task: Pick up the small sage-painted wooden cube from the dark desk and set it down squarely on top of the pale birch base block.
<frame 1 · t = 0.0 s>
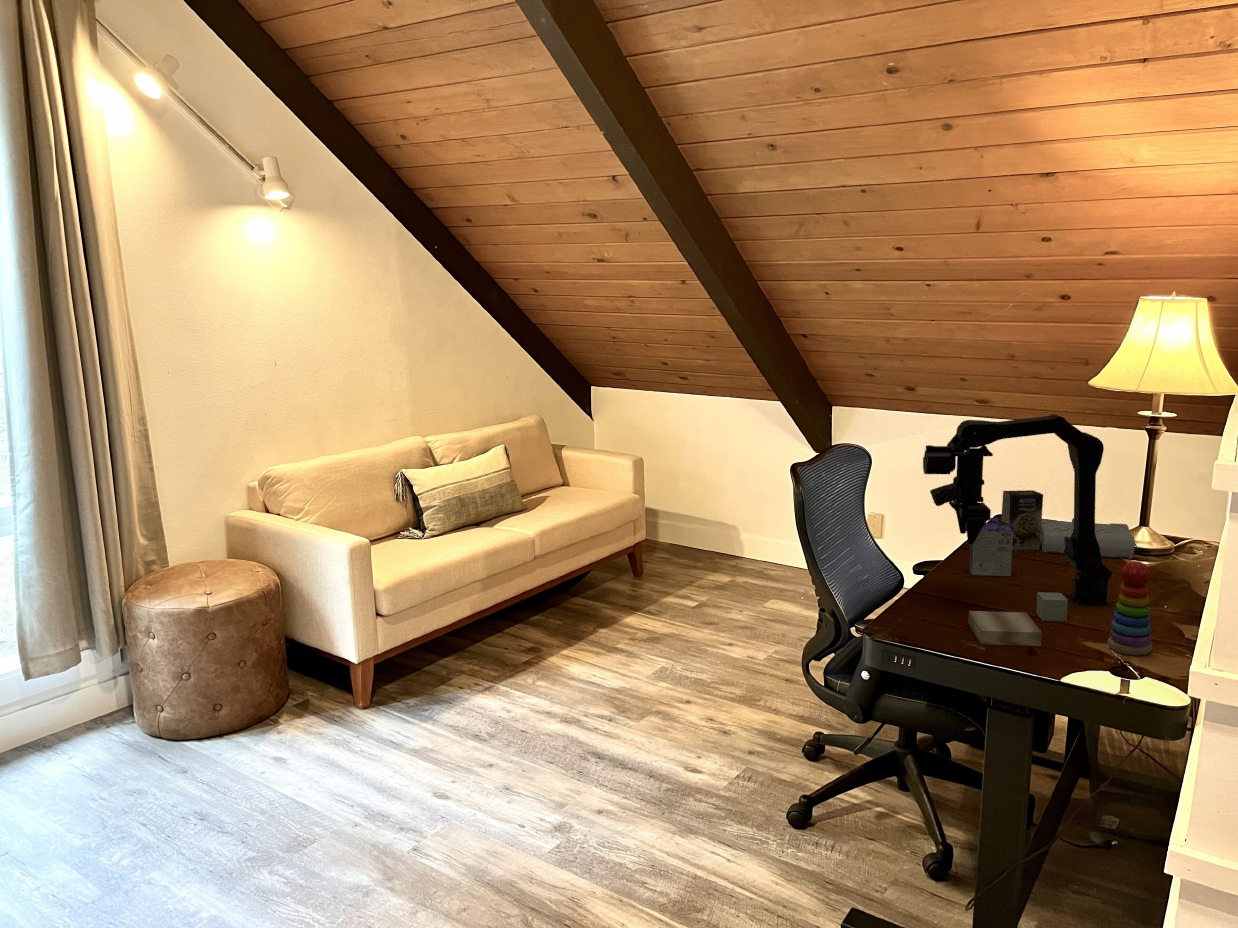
hand: (966, 538, 218), 15 cm above the table, tool pointing down, fingers open, 9 cm apart
sage cube: (1051, 617, 206), on the table
birch base block: (1003, 634, 196), on the table
coffee box: (1019, 548, 260), on the table
stacking toy: (1129, 649, 187), on the table
ink cartridge box: (989, 573, 238), on the table
book: (1093, 550, 257), on the table
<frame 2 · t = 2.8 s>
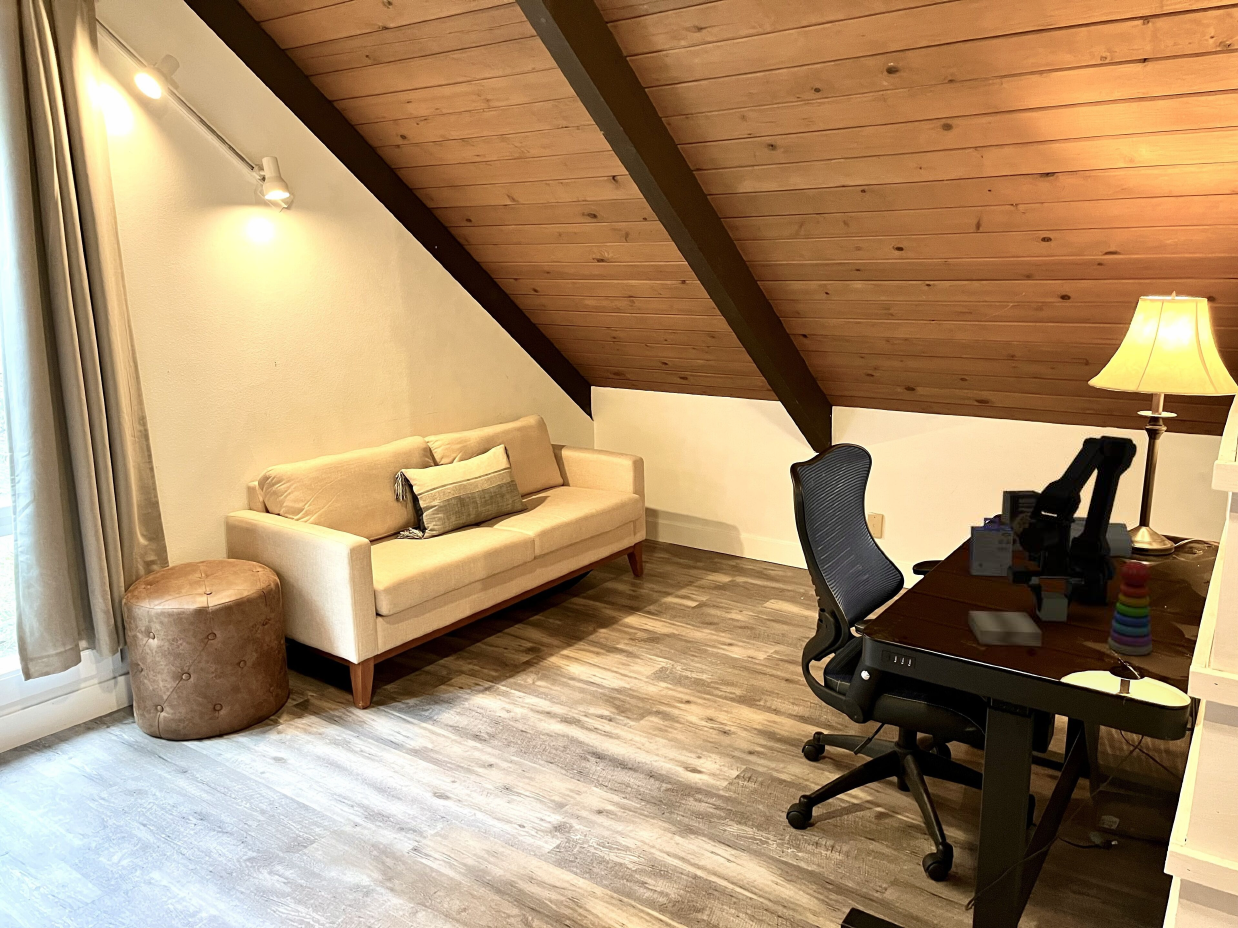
hand: (1051, 611, 206), 1 cm above the table, tool pointing down, fingers closed on sage cube, 5 cm apart
sage cube: (1051, 616, 206), on the table, touching gripper
when the fingers open (5 cm above the table, at t = 7.5 s): sage cube drops 1 cm, resting on birch base block.
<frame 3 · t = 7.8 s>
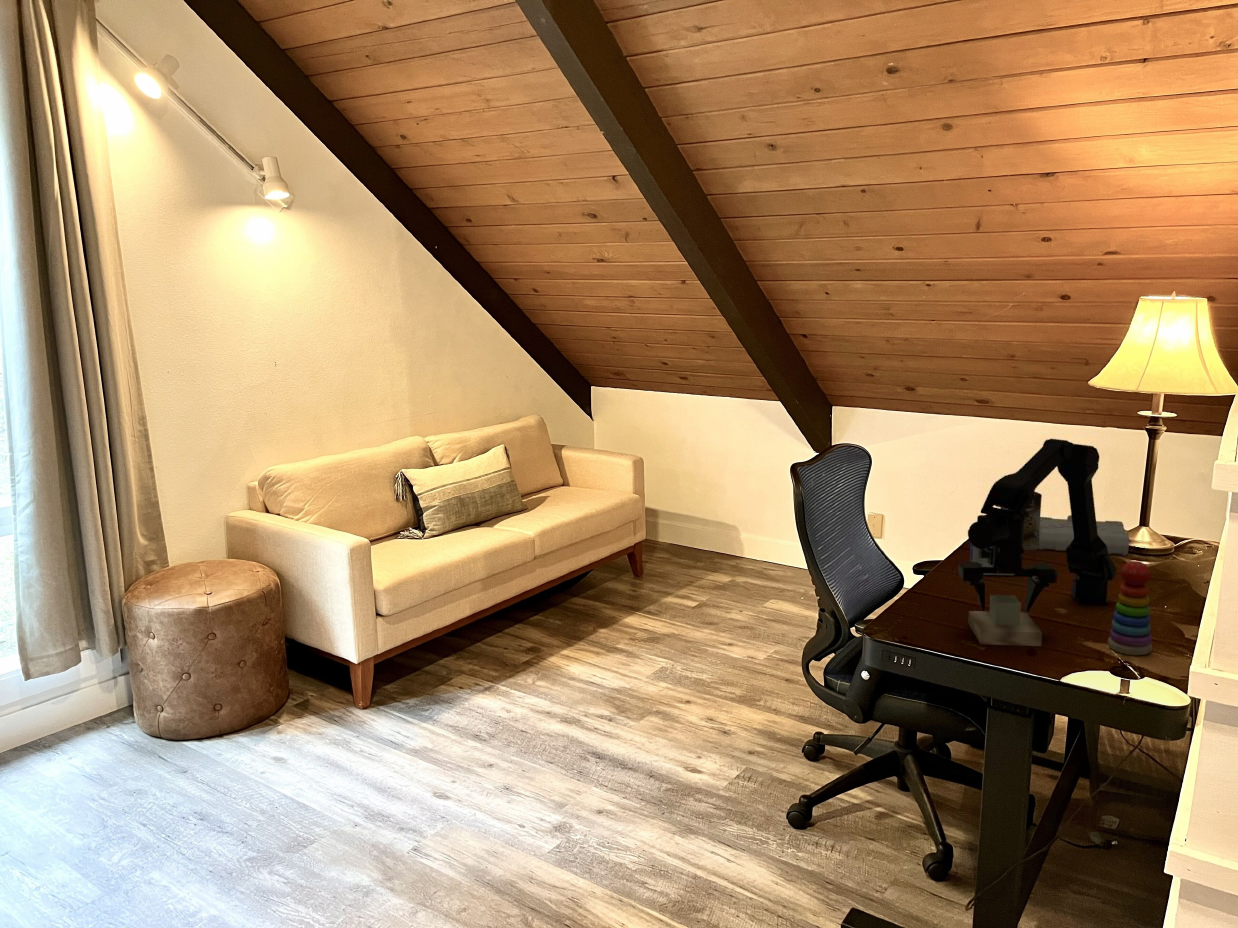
hand: (1004, 610, 195), 5 cm above the table, tool pointing down, fingers open, 9 cm apart
sage cube: (1004, 621, 196), point 3 cm above the table, touching birch base block
book: (1088, 547, 260), on the table
everything else where it was.
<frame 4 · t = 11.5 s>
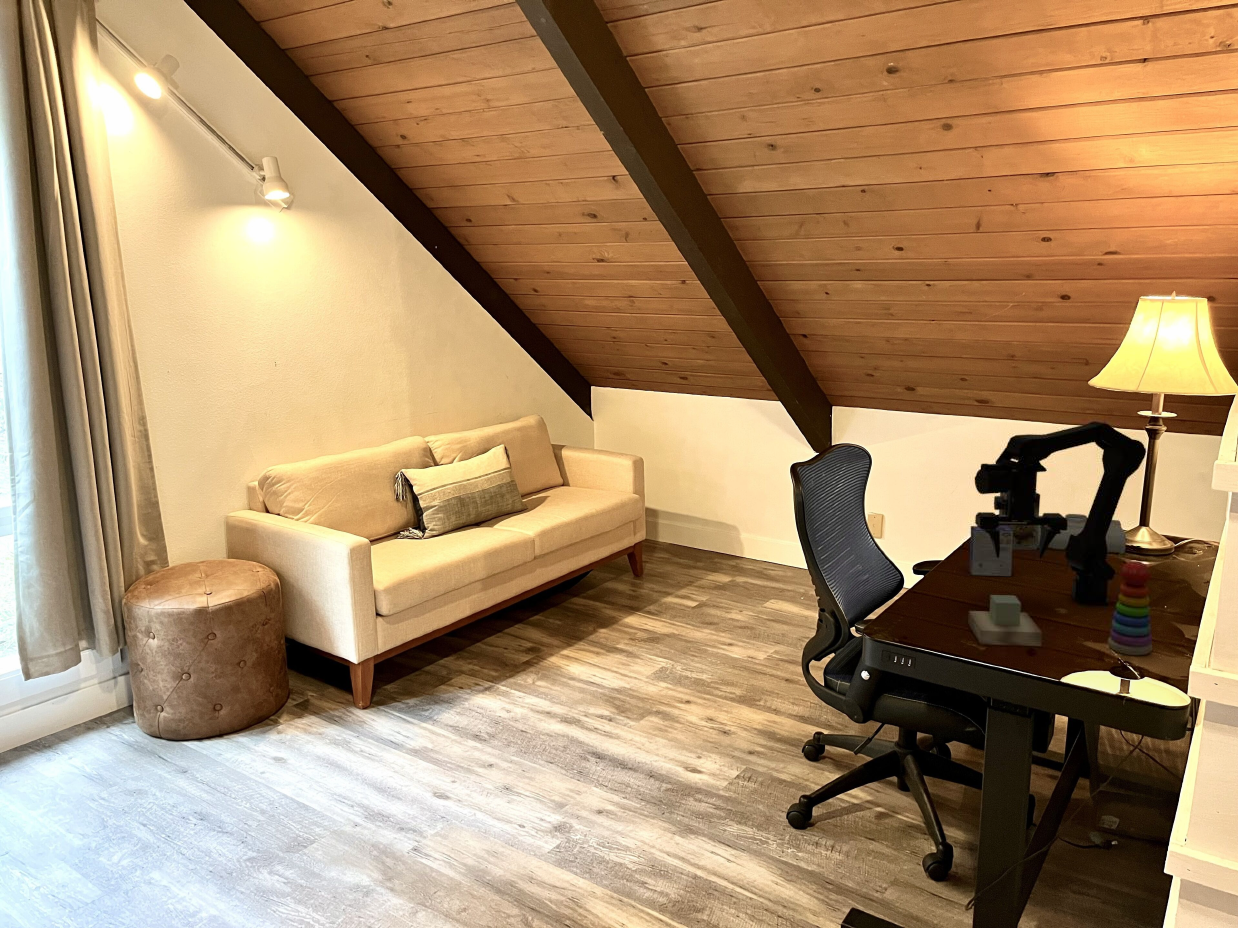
hand: (1018, 557, 211), 12 cm above the table, tool pointing down, fingers open, 9 cm apart
book: (1085, 546, 261), on the table
everything else where it was.
at the end: sage cube inside the target area on the birch base block (0.0 cm from its centre), point 3.0 cm above the birch base block's base; sage cube tilted 0°; the gripper is holding nothing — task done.
